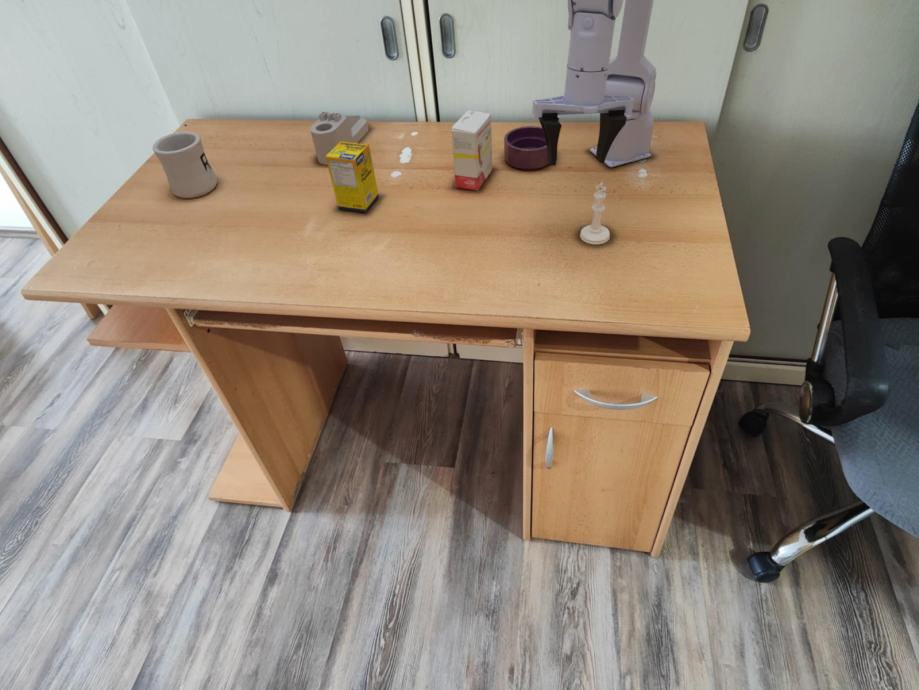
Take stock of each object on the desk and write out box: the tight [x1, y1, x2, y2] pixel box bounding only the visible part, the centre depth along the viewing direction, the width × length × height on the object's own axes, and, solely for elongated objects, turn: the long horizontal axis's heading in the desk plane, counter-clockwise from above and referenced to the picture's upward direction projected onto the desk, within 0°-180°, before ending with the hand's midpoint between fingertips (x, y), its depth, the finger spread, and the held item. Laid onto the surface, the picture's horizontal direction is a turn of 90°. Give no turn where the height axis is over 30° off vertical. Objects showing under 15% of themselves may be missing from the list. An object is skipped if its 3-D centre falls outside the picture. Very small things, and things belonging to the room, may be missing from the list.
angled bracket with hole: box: [309, 111, 370, 166], centre depth 126 cm, size 6×18×8 cm, turn 163°
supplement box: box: [326, 141, 380, 214], centre depth 107 cm, size 6×6×11 cm
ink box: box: [451, 109, 493, 192], centre depth 111 cm, size 9×5×12 cm, turn 157°
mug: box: [152, 131, 218, 199], centre depth 117 cm, size 12×9×10 cm
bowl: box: [503, 125, 550, 171], centre depth 117 cm, size 10×10×4 cm
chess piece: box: [579, 182, 611, 245], centre depth 96 cm, size 5×5×10 cm
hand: (576, 161), depth 90 cm, fingers open, 7 cm apart
